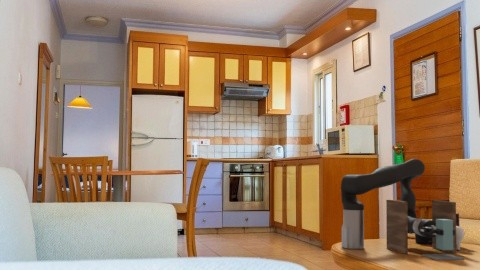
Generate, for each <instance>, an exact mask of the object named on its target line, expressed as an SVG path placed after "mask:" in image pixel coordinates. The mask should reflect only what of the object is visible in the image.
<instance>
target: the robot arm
mask: <svg viewBox="0 0 480 270" xmlns="http://www.w3.org/2000/svg"><path fill="white" fill-rule="evenodd" d="M425 168H426V166H425V163H424V162H423V161H422V160H420V159H418V158H411V159H409V160H407V161H405V162H402V163H396V164H391V165H387V166H386V165H385V166H383V167H378V168H376V169H375V170H374V171H373V172H372V173H366V174H346V175H343V177H342V179H341V183H340V192H341V193H340V194H341V196H340V197H341V203H342V209H343V210H342V211H343V212H342V214H343V215H342V217H343V221H342V222H343V223H342V225H341V248H344V249H350V250H362V249H363V250H364V249H365V210H364V209H365V204H364V203H363V202H361V201H360V200H359V199H358V198H357V196H360V195H361V196H362V195H364V194H366V193H368V192H371V191H373V190H375V189H380V188H385V187H389V186H393V185H394V184H397V183H400V184H399V185H400V201H404V202H407V206H408V235H409V234H411V235H412V234H414V235H415V234H418V235H420V236H424V237H429V238H433V237H435V236H436V235H437V234H438V235H444V231H443V230H441V229H437V228H436V222H435V221H433V220H431V219H426V218H418V217H417V212H416V203H417V201H416V200H417V199H416V198H417V197H416V195H415V193H414V191H413V189H412V187H411V186H412V180H414V179H416V178H419V177H420V176H422V175H423V174H424V172H425V170H426V169H425ZM453 235H455V230H453Z"/></svg>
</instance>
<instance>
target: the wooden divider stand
mask: <svg viewBox="0 0 480 270" xmlns="http://www.w3.org/2000/svg"><path fill="white" fill-rule="evenodd" d="M385 200H386V201H385V202H386V203H385V204H386V213H385V214H386V249H387V250H390V251H392V252H393V251H394V252H397V253H400V254H403V255H409V251H408V250H409V247H408V246H409V243H408V242H409V241H408V239H409V233H408V206H407V202H404V201H401V200H394V199H385ZM431 208H432V209H431V213H432V214H431V215H432V216H431V217H432V218H431V219H432V220H433V221H435V222H436V219H449V220H453V230H455V235H453V250H441V249H437V248H436V236H435V237H433V238H432V244H431V245H432V249H435V250H439V251H442V252H445V253H446V252H447V253H449V254H450V253H451V254H457V250H456V213H457V202H455V201H447V200H445V201H443V200H437V199H435V200H431Z"/></svg>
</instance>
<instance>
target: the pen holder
mask: <svg viewBox="0 0 480 270" xmlns="http://www.w3.org/2000/svg"><path fill="white" fill-rule="evenodd" d="M414 238H415V243H416V244H419V245H420V244H422V245H433V244H432V238H429V237H424V236H420V235H418V234H414Z"/></svg>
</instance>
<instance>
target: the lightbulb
mask: <svg viewBox="0 0 480 270" xmlns="http://www.w3.org/2000/svg"><path fill="white" fill-rule="evenodd" d="M465 236H466V235H465V230H464V228H463V227H462V226H460V225H459V226H456V250H458V251H461V243H462V241H463V239H464V237H465Z"/></svg>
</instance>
